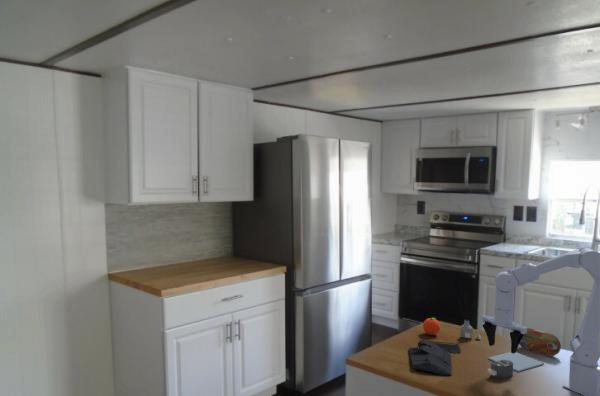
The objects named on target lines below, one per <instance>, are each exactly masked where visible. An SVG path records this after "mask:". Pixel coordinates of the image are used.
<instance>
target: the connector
mask: <svg viewBox="0 0 600 396" xmlns="http://www.w3.org/2000/svg"><path fill="white" fill-rule="evenodd" d="M487 373H488V374H490V376H491V378H493V379H496V380H504V379H508V378H510V377H513V376H514V370H513V362H511V361H509V360H499V361H496V362H494V361H492V362H491V363H490V368H487Z"/></svg>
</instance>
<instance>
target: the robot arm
mask: <svg viewBox="0 0 600 396" xmlns="http://www.w3.org/2000/svg"><path fill="white" fill-rule="evenodd" d="M580 266H581V267H582V268H583V269H584V270H585V271H587V272H588V274H589V275H590V276H591V277H592V279H593V284H592V289H591V291H590V294H589V298H588V301H587V304H586V305H587V306H586V308H585V311H584V314H583V317H582V321H581V325H580V328H579V329H577V331H576V335H575V336H574V337H572V338H571V340H570V342H569V345H570V349H571V351H572V354H571V355H570V357H569V377H568V378H569V379H568V382H567V383H564V384H562V388H563V387H564V388H566V389H568V390H570V391H572V392H574V393H577V394H580V395H581V396H600V365H599V363H598V361H599V360H600V354H599V346H600V252H598V251H596V249H594V248H592V247H586V246H585V247H582V248H580V249H574V250H573V249H572V250H571V251H567V252H565V253H562V254H560V255H557V256H555V257H553V258H549V259H548V260H545V261H542V262H540V263H537V264H533V263H531V262H529V263H526V262H522V263H521V264H520V266H517V267H514V268H512V269H511V268H507V269H506V271H500V272H498V273H497V274H496V275H495V278H494V281H495V286H496V287H495V294H494V314H493V316H490V315H489V316H488V315H482V316H481V322H482V323H483V324H482V328H483V330H484V332H485V334H486V337H487V341H488V345H489V346H490V347H492V346H494V345H495V343H496V342H495V341H496V332H497V327H501V328H504V329H507V330H510V332H509V337H510V343H511V344H510V352H511V353H513V354H514V353H516V352H517V351H518V348H519V346H520V344H519V343H520V341H521V339H522V338H523V336H524V335H525V334H526V333H527V328H528V327H527V326H523V325H522V324H519V323H517V322H515V321H514V314H515V313H514V311H515V310H514V309H515V308H514V307H515V306H514V305H515V296H514V289H515V288H516V287H521V286H523V285H526V284H529V283H532V282H535V281H537V280H539V279H540V277H541V275H544V274H547V273H550V272H553V271H557V270H559V269H563V268H567V267H569V268H574V269H580ZM517 353H518V352H517Z"/></svg>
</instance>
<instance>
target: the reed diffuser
mask: <svg viewBox="0 0 600 396" xmlns="http://www.w3.org/2000/svg"><path fill="white" fill-rule="evenodd" d="M458 293H459V292H456V294H457V297H458V302H459V305H460V308H461V313H462V315H463V319H464V321H463V322H464V323H463V324H462V325H461V326H460V331H459V332H460V337H462V338H463V339H471V338H473V331H474V329H473V326H471V325H470V319H471V315H472V312H473V309H474V305H475V302H476V300H477V299H476V298H477V296H478V291H476V294H475V296H474V300H473V303H472V307H471V310H470V313H469V316H468V312H465V313H464V310H463V307H462V304H461V300H460V297H459V296H460V295H459V294H458ZM465 294H466V295H465ZM463 299H464V300H465V302H464V306H465V307H464V308H465V311H467V302H468V289H466V293H465V292H463ZM465 316H466V317H465ZM474 339H476V340H482V336H481V334H479V333H477V334H476V335H475V336H474Z"/></svg>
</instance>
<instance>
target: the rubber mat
mask: <svg viewBox="0 0 600 396" xmlns="http://www.w3.org/2000/svg"><path fill="white" fill-rule="evenodd" d="M487 359H488V360H490V361H492V362H496V361H499V360H509V361H511V362H513V372H514V371H515V372H517V373H520V372H523V371H526V370H530V369H533V368H537V367H540V366H544V365H545V363H544V362H542V361H539V360H537V359H534V358H532V357H529V356H527V355H524V354H522V353H519V352H516V353H514V354H513V353H511V351H508V352H505V353H502V354H497V355H493V356H489V357H488V358H487Z"/></svg>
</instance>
